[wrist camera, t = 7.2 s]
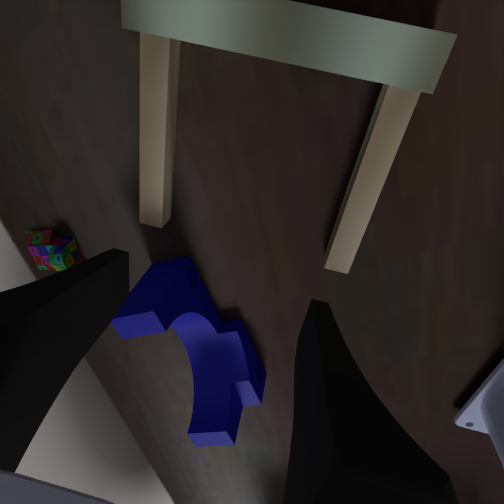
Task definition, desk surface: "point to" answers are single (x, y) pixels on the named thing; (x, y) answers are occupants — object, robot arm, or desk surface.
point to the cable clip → (198, 346)
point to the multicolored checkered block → (53, 250)
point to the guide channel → (293, 52)
